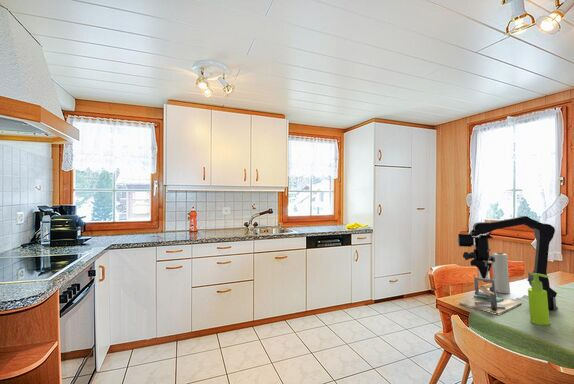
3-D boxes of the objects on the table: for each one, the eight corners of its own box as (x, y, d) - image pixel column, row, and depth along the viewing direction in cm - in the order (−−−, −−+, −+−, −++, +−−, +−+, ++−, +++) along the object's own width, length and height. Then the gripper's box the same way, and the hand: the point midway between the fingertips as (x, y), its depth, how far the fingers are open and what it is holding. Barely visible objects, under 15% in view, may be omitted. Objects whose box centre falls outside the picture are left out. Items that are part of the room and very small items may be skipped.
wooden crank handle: (495, 296, 143) (494, 282, 143) (497, 311, 124) (496, 294, 125) (480, 295, 146) (479, 281, 147) (480, 308, 128) (479, 292, 128)
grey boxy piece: (494, 298, 135) (492, 272, 135) (474, 294, 141) (472, 270, 142) (497, 296, 137) (495, 271, 138) (477, 293, 144) (475, 268, 144)
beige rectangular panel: (521, 304, 134) (521, 300, 134) (499, 315, 121) (498, 310, 122) (482, 295, 148) (482, 292, 148) (458, 304, 136) (458, 300, 136)
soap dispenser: (548, 327, 108) (543, 276, 110) (527, 321, 115) (523, 272, 116) (556, 324, 111) (551, 274, 112) (535, 318, 117) (531, 271, 118)
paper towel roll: (512, 294, 149) (508, 254, 151) (499, 293, 151) (495, 254, 153) (506, 290, 156) (503, 252, 158) (493, 289, 158) (490, 252, 160)
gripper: (470, 244, 153) (472, 272, 152) (457, 247, 141) (460, 278, 140) (494, 245, 144) (496, 275, 143) (483, 249, 132) (486, 282, 131)
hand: (484, 277), depth 140 cm, fingers closed on grey boxy piece, 2 cm apart
